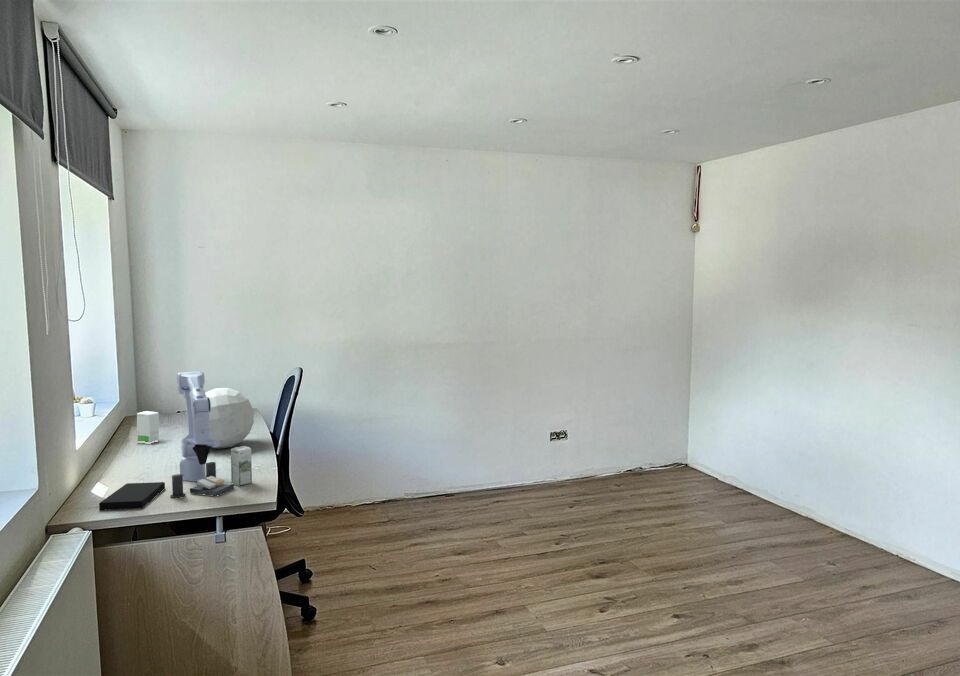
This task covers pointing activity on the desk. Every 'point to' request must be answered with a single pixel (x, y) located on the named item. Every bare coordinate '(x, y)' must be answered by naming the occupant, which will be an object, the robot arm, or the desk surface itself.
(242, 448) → the syrup box
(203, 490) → the panel
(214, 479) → the orange-tipped paddle
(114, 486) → the desk surface
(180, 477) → the post
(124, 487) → the external hard drive
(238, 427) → the ball
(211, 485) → the grey paddle
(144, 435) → the skincare box
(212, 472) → the far cord post
